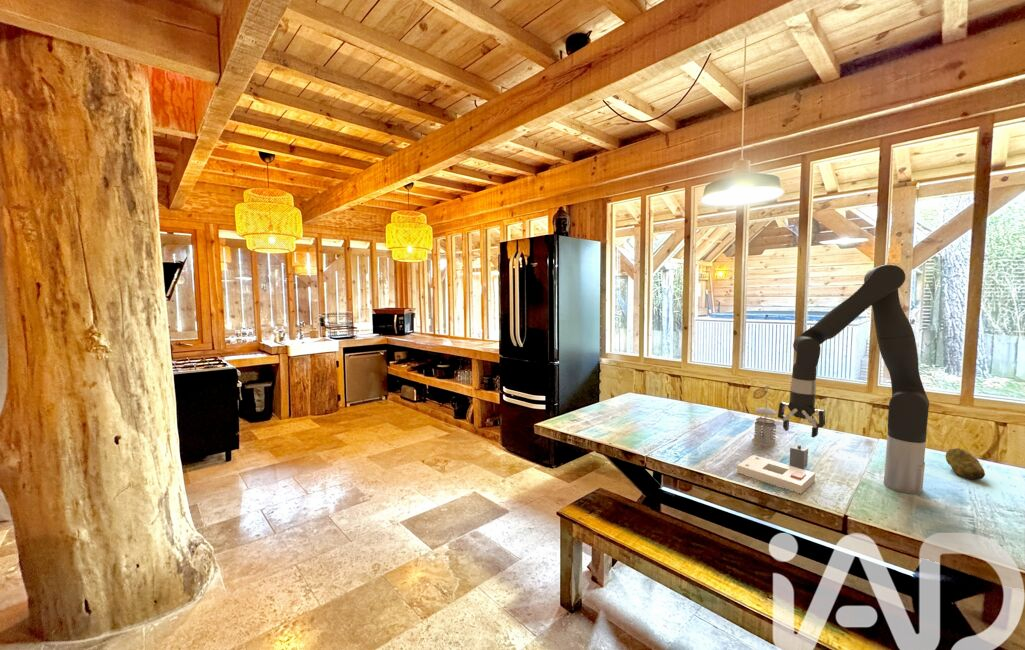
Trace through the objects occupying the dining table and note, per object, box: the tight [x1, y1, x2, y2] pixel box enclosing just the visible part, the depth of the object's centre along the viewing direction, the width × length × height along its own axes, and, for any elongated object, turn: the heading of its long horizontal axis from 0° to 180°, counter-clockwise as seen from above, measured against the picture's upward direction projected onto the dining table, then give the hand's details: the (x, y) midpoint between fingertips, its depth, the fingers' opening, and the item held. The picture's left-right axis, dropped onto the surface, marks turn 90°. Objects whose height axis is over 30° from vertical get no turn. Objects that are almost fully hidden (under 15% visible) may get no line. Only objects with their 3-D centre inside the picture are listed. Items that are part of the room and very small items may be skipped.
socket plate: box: [736, 454, 816, 495], centre depth 146 cm, size 20×14×4 cm
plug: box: [788, 444, 809, 470], centre depth 152 cm, size 4×4×9 cm
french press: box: [751, 385, 779, 447], centre depth 176 cm, size 10×12×25 cm
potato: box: [945, 448, 986, 481], centre depth 147 cm, size 8×13×8 cm, turn 143°
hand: (799, 433), depth 151 cm, fingers open, 8 cm apart
